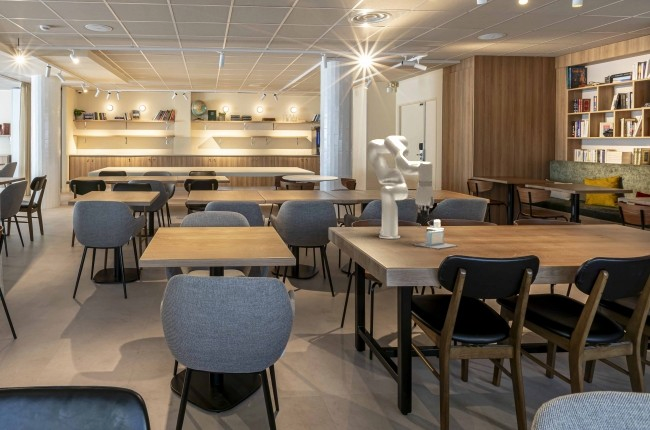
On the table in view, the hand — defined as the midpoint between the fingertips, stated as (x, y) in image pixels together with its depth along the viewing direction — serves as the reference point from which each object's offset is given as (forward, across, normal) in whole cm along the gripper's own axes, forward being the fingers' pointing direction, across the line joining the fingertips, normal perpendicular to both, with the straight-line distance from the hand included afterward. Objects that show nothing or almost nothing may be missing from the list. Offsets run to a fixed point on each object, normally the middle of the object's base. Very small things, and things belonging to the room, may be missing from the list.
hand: (424, 217), depth 349 cm
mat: (+15, +8, 0) cm, 17 cm away
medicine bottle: (+15, -6, +16) cm, 23 cm away
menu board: (+14, +8, 0) cm, 16 cm away
